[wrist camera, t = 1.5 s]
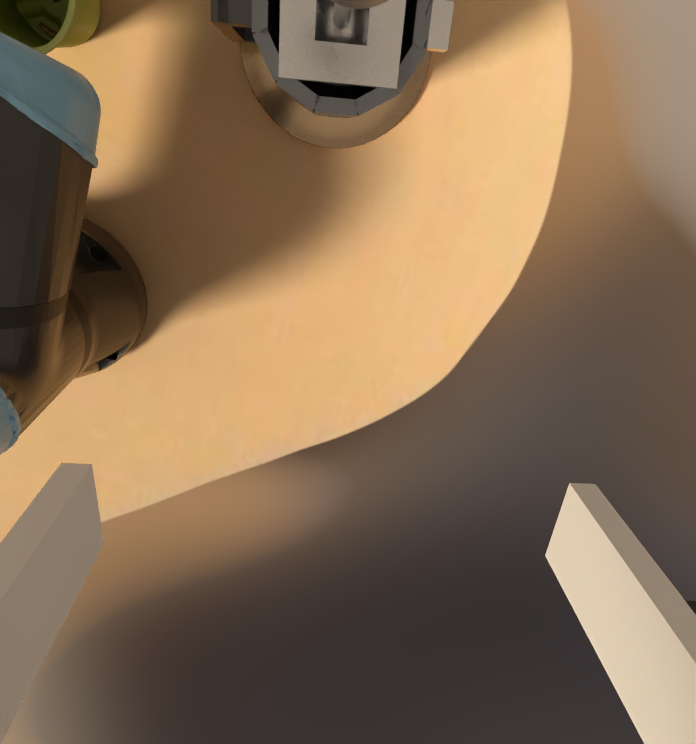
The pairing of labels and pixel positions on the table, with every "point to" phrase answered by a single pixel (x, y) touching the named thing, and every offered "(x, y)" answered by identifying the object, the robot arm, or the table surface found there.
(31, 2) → the plant pot
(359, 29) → the plunger
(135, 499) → the table surface
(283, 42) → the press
